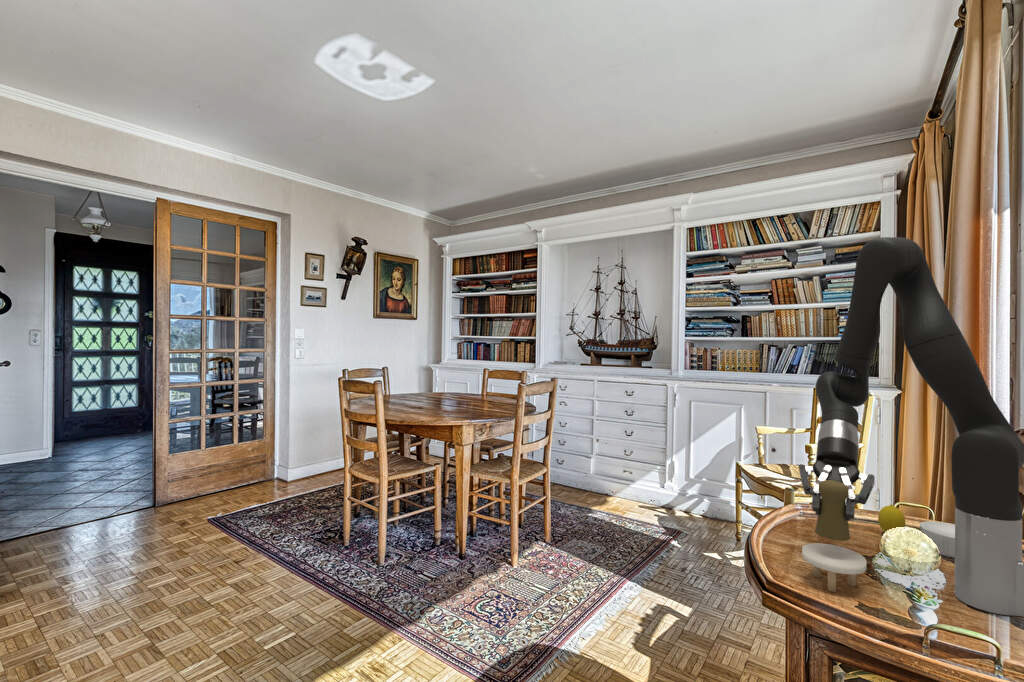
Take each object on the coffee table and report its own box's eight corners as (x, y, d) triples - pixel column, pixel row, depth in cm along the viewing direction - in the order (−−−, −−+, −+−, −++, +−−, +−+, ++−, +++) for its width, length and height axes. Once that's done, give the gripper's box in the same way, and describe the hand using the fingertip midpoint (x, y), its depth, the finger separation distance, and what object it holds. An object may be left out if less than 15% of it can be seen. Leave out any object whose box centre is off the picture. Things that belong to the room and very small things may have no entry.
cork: (855, 542, 98) (857, 487, 98) (822, 539, 99) (823, 484, 99) (842, 530, 104) (843, 478, 104) (810, 527, 105) (811, 476, 105)
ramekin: (986, 566, 110) (986, 543, 110) (920, 553, 116) (920, 531, 116) (978, 550, 119) (978, 528, 119) (918, 538, 125) (918, 517, 125)
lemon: (903, 534, 127) (904, 503, 127) (906, 542, 123) (906, 509, 123) (877, 530, 130) (877, 500, 130) (879, 537, 126) (879, 505, 126)
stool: (866, 581, 102) (867, 552, 102) (865, 603, 94) (865, 571, 94) (805, 566, 109) (805, 539, 109) (798, 585, 100) (798, 556, 100)
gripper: (799, 431, 111) (790, 498, 102) (878, 440, 103) (876, 514, 93) (801, 450, 116) (793, 516, 106) (877, 460, 107) (876, 533, 98)
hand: (832, 515), depth 100 cm, fingers closed on cork, 4 cm apart
